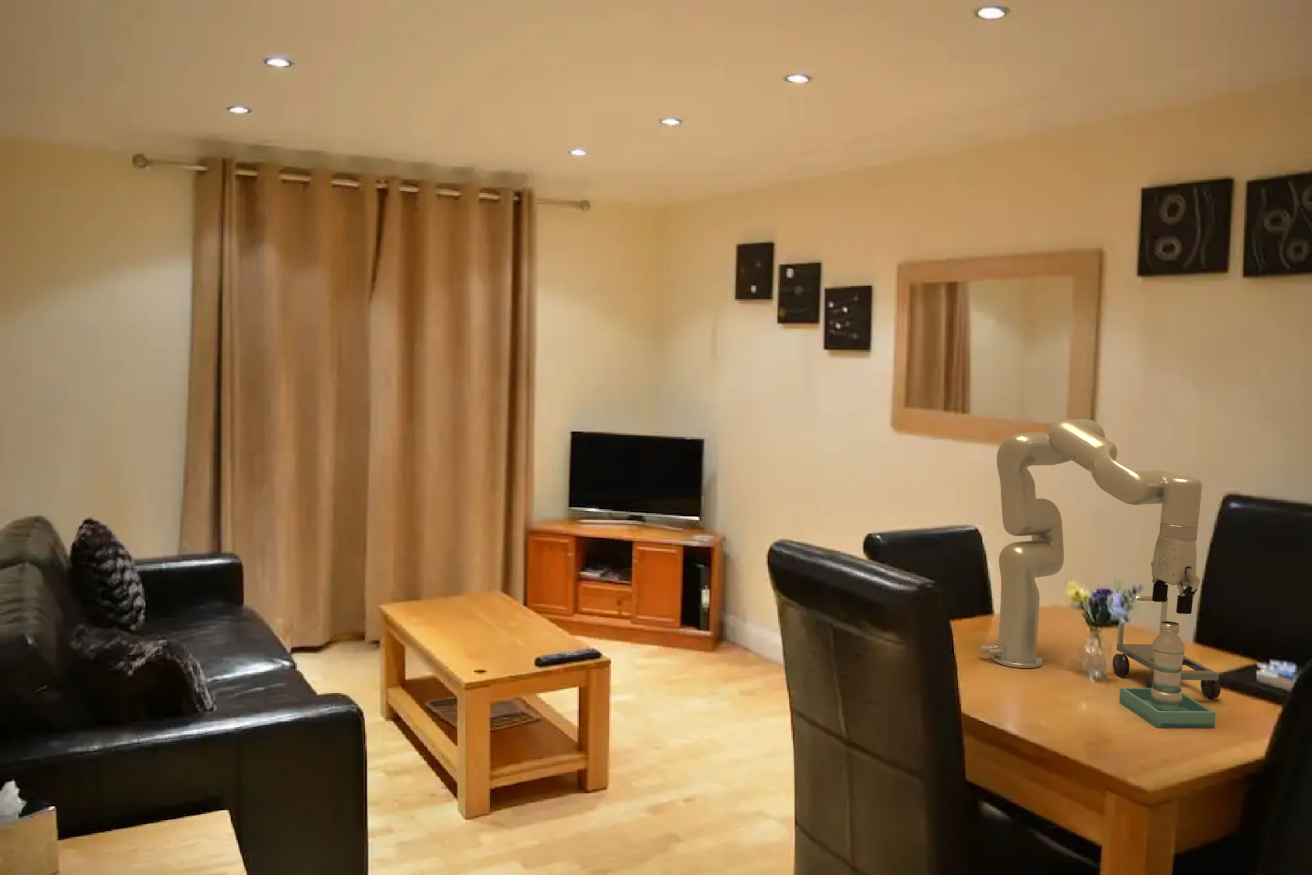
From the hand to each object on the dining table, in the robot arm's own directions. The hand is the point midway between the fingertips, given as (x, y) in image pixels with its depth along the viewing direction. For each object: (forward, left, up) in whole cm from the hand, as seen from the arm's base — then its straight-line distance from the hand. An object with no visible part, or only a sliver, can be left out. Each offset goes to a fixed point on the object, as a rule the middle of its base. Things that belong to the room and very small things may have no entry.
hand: (1171, 607), depth 230 cm
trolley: (+11, +21, -25) cm, 34 cm away
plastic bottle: (0, 0, -24) cm, 24 cm away
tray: (0, 0, -25) cm, 25 cm away
